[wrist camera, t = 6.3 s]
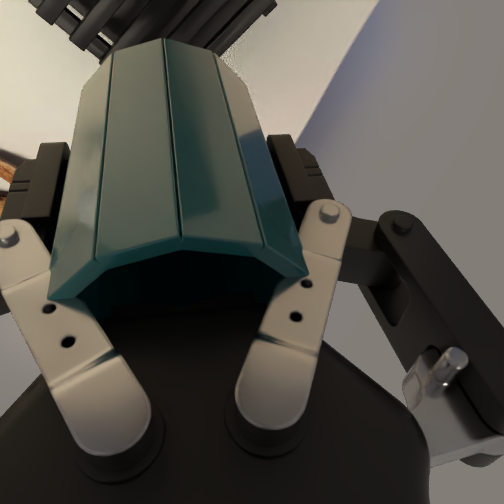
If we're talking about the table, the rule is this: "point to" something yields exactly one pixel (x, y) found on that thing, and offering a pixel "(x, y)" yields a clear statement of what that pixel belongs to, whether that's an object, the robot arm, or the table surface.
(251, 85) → the table surface
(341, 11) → the table surface
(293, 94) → the table surface
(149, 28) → the rack
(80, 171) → the cup
